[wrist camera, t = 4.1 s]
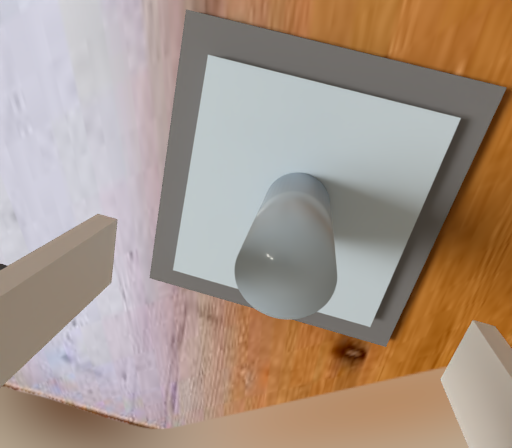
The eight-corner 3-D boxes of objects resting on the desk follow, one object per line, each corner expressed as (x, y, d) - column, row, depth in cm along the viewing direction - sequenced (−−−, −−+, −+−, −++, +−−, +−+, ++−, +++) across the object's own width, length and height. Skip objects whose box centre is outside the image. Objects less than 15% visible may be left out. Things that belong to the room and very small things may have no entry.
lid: (178, 262, 27) (103, 359, 18) (213, 55, 22) (132, 37, 12) (368, 316, 26) (395, 449, 17) (453, 116, 21) (564, 145, 11)
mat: (155, 271, 29) (149, 278, 28) (191, 12, 22) (186, 9, 21) (383, 337, 28) (385, 346, 27) (498, 87, 21) (506, 87, 20)
